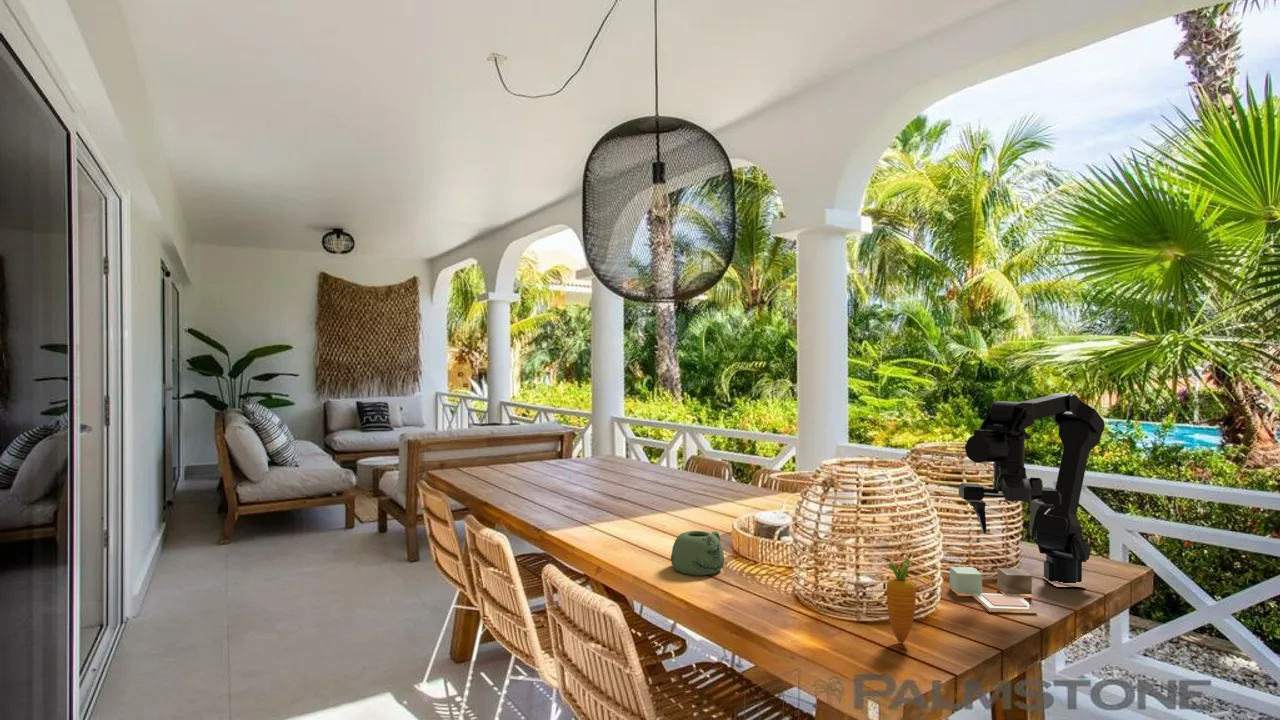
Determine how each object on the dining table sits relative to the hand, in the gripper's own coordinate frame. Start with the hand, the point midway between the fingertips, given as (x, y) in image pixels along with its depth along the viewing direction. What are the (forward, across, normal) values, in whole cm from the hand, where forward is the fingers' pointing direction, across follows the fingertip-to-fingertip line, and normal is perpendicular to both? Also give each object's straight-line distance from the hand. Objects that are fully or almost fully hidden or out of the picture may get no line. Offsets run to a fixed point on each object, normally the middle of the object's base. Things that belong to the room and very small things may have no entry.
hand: (1007, 534), depth 151 cm
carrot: (+14, -25, -31) cm, 42 cm away
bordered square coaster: (+13, -2, -6) cm, 15 cm away
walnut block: (+13, +2, +2) cm, 14 cm away
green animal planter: (+14, -66, +7) cm, 68 cm away
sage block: (+14, -8, +1) cm, 16 cm away
